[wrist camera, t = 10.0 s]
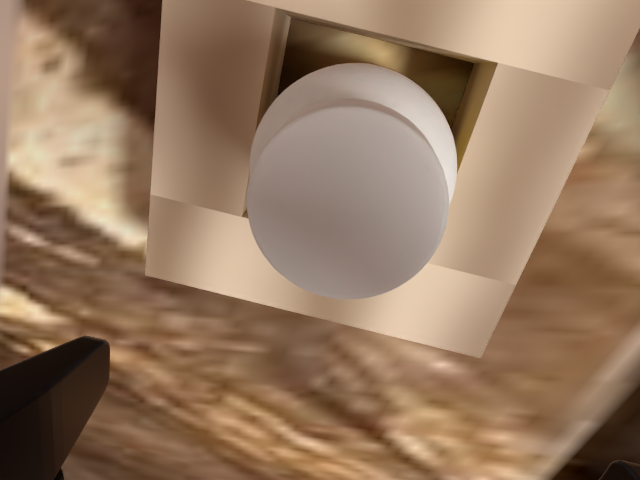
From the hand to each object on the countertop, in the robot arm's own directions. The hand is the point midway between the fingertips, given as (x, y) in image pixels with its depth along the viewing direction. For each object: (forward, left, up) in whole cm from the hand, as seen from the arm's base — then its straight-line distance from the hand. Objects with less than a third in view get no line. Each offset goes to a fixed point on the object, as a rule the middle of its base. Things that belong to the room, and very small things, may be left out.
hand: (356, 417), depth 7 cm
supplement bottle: (-1, +3, -12) cm, 12 cm away
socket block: (-1, +3, -12) cm, 12 cm away
